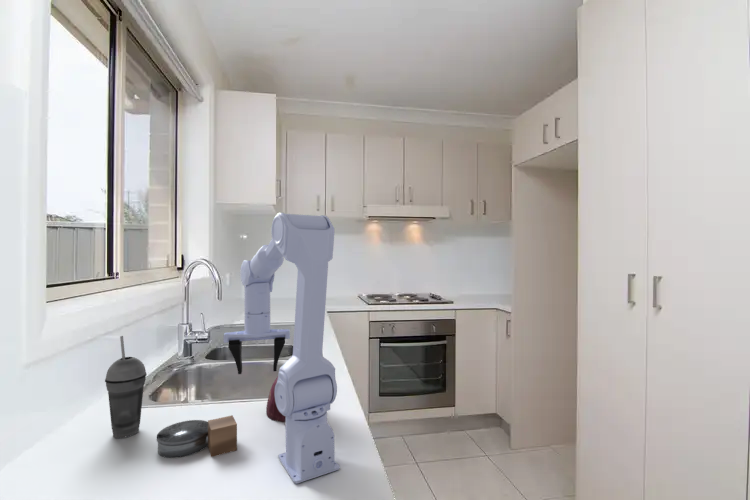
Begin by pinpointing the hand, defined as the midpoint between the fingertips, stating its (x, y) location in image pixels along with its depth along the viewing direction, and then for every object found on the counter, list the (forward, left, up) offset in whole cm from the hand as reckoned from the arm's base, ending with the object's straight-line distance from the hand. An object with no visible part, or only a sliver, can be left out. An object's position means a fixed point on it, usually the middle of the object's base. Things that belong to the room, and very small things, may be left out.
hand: (257, 371), depth 86 cm
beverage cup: (+5, +26, -10) cm, 28 cm away
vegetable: (-3, -6, -10) cm, 12 cm away
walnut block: (-12, +10, -10) cm, 18 cm away
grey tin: (-7, +16, -10) cm, 20 cm away
